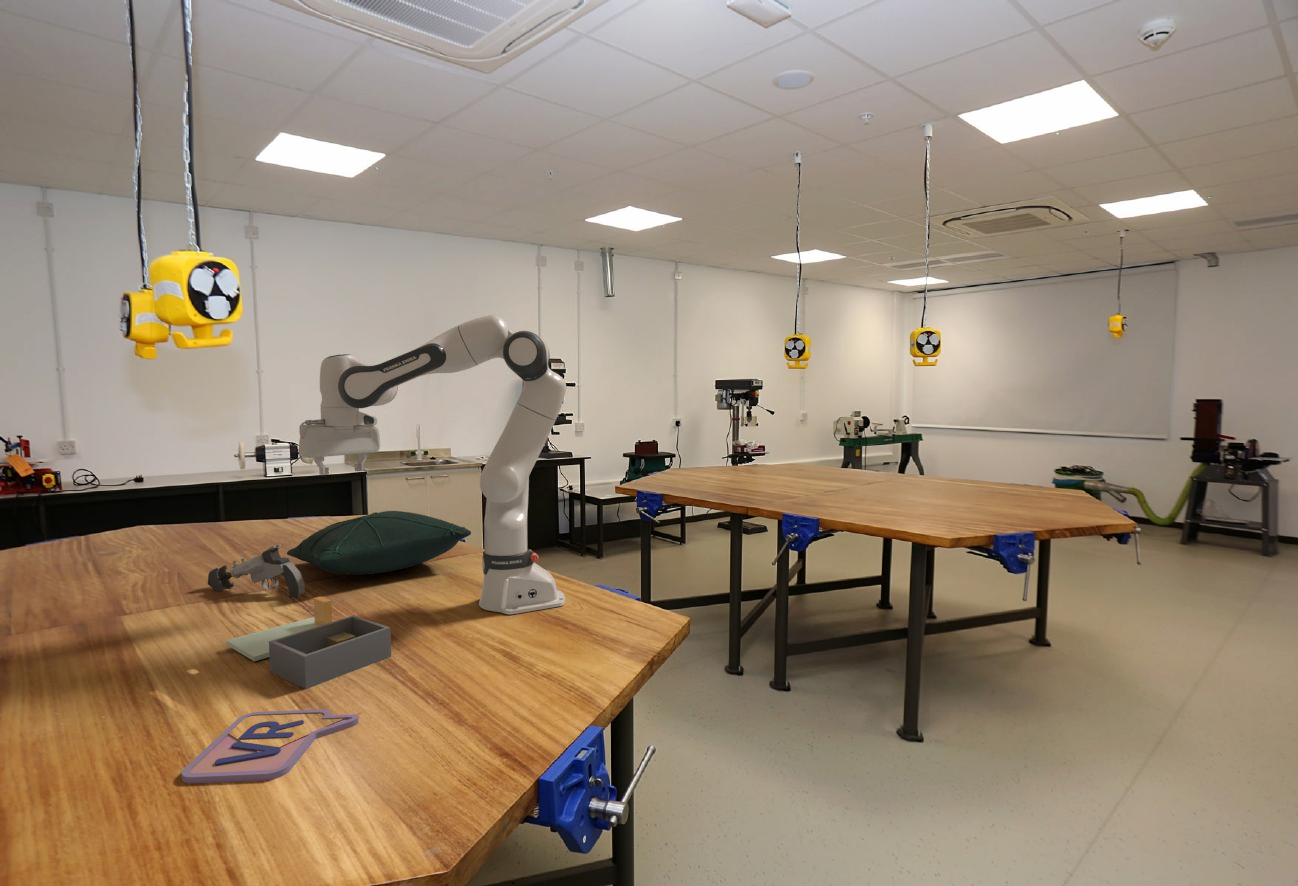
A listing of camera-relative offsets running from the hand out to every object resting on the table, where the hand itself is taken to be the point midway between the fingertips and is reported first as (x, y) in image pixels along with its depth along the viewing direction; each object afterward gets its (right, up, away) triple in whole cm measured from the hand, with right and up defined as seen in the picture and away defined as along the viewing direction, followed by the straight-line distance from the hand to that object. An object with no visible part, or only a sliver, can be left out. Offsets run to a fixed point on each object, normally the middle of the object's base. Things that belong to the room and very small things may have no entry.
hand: (341, 472), depth 166 cm
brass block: (+14, -37, -30) cm, 50 cm away
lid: (-2, -37, -22) cm, 44 cm away
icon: (+20, -41, -63) cm, 78 cm away
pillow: (-7, -32, +38) cm, 51 cm away
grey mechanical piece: (-30, -34, +14) cm, 48 cm away
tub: (+14, -38, -34) cm, 53 cm away
